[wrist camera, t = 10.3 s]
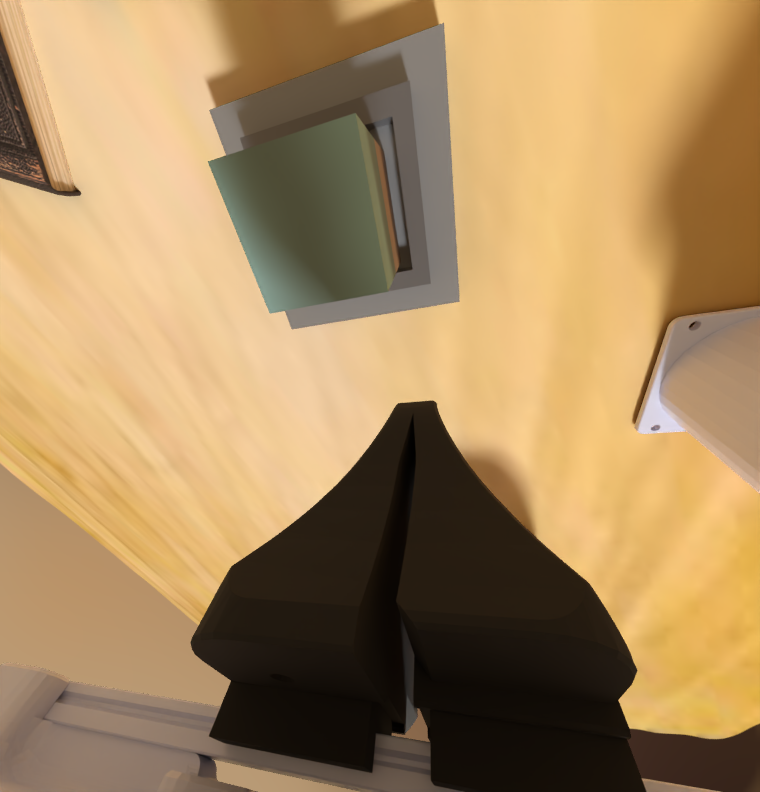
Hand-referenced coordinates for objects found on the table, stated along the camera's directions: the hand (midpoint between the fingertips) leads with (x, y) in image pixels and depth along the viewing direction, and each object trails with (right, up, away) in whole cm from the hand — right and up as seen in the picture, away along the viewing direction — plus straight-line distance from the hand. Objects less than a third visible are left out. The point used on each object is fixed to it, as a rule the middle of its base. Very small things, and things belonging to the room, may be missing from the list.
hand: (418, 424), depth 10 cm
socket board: (-3, +10, +5) cm, 12 cm away
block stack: (-3, +10, +4) cm, 11 cm away
